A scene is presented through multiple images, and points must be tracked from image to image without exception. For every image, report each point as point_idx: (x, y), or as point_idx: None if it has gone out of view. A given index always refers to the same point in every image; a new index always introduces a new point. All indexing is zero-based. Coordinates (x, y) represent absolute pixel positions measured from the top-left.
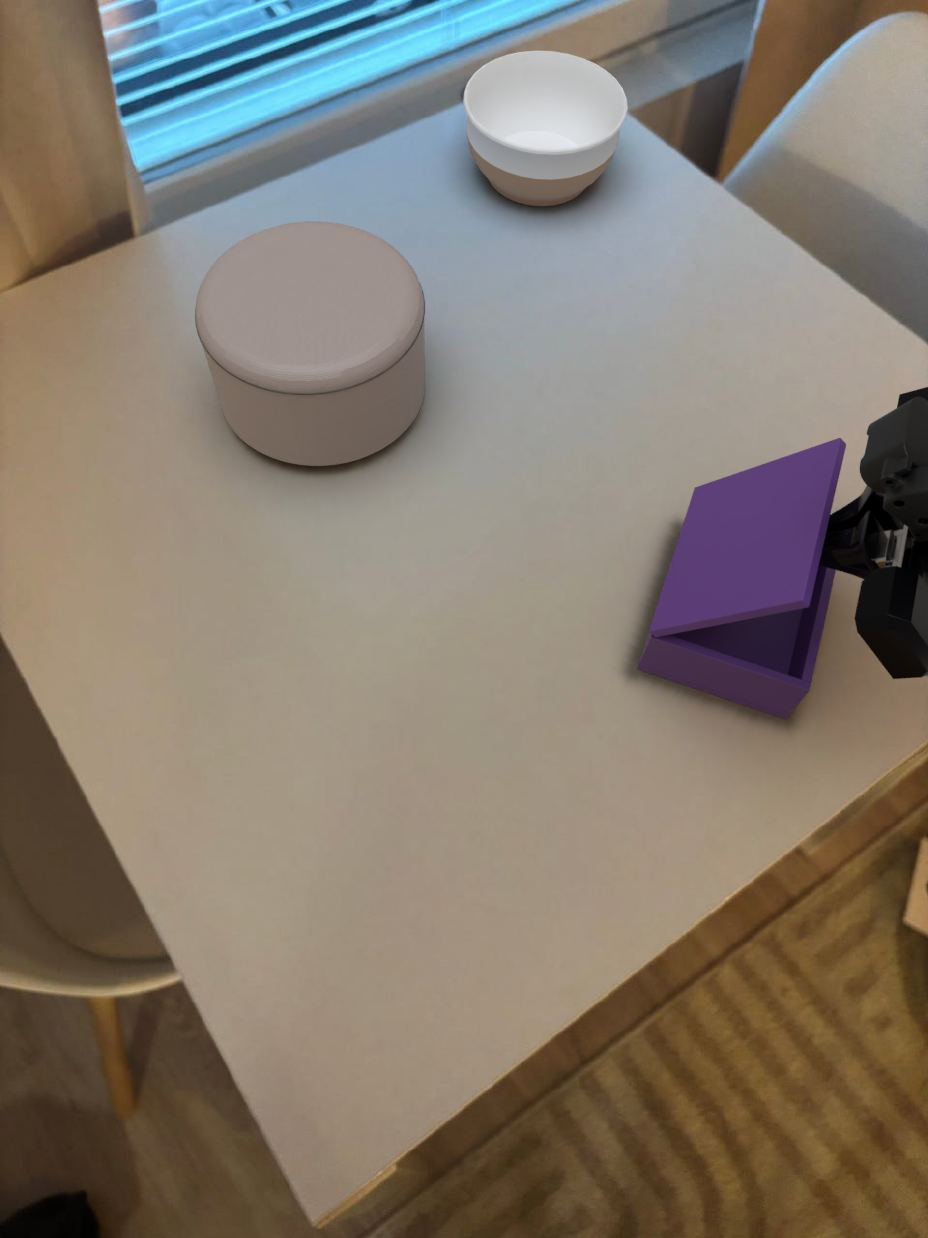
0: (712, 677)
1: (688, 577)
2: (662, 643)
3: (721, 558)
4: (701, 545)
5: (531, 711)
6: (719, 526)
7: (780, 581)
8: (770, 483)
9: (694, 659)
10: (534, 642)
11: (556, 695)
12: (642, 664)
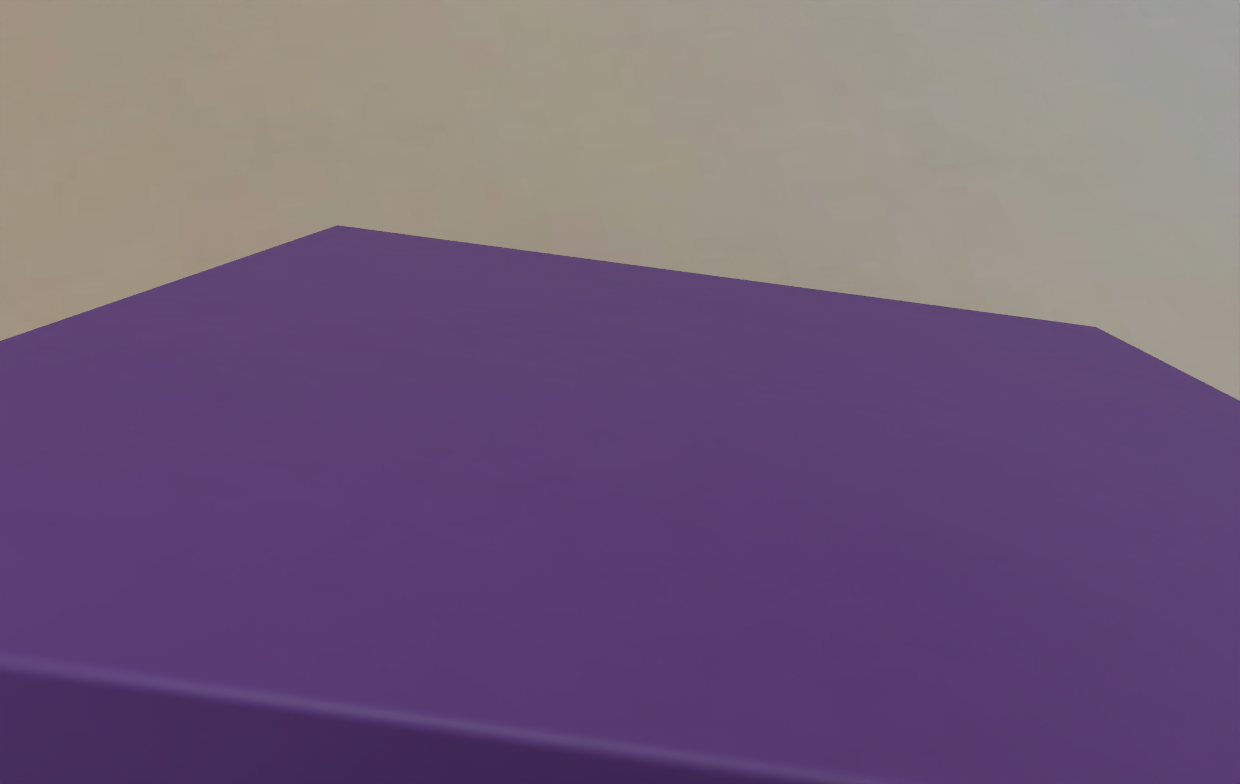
0: None
1: (554, 279)
2: None
3: (610, 330)
4: (739, 308)
5: (221, 117)
6: (848, 341)
7: (52, 460)
8: (1208, 475)
9: None
10: (439, 95)
11: (278, 169)
12: None
